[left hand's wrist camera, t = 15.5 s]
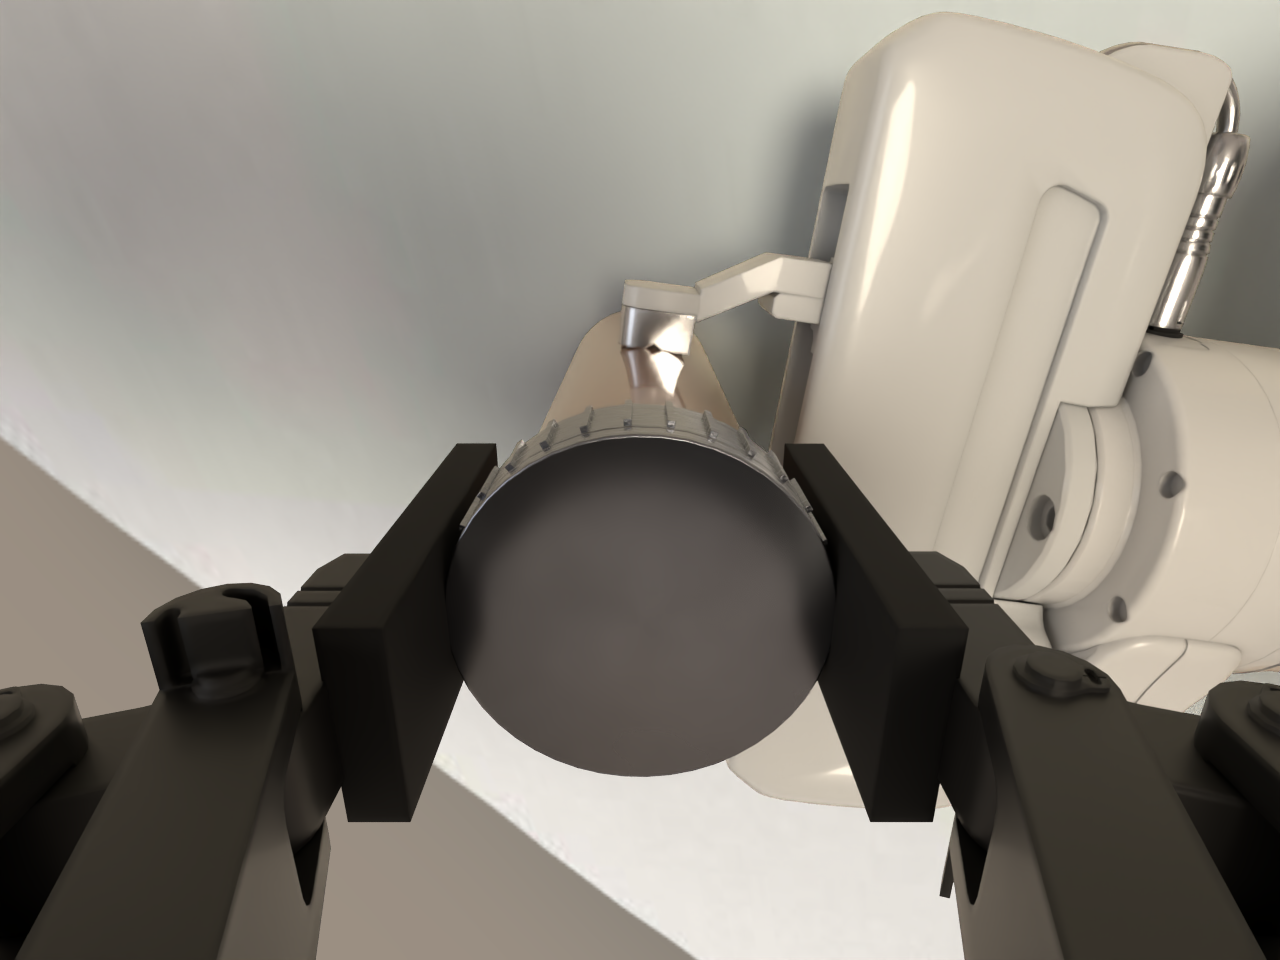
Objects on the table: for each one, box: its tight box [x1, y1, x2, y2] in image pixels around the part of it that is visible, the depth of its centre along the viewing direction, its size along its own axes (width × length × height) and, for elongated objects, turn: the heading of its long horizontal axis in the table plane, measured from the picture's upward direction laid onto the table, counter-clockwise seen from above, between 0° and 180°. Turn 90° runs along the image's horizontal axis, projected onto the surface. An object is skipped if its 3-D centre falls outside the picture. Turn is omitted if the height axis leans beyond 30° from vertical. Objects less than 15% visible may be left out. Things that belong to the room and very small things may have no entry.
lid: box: [445, 399, 837, 777], centre depth 11 cm, size 6×6×2 cm
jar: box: [539, 311, 740, 433], centre depth 18 cm, size 5×5×15 cm
